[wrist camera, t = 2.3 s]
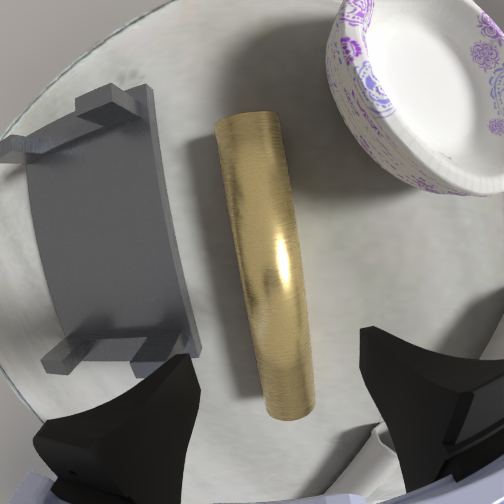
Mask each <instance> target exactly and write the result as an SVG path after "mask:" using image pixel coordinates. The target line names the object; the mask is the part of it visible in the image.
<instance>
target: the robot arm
mask: <svg viewBox="0 0 504 504" xmlns="http://www.w3.org/2000/svg"><path fill="white" fill-rule="evenodd" d="M359 368H360V371H361V374H362V377H363V380H364V382H365V385H366V387H367V389H368V391H369V393H370V395H371V397H372V399H373V400H374V402H375V404H376V406H377V408H378V410H379V412H380V414H381V415H382V417H383V419H384V421H385V423H386V425H387V428H388V430H389V433H390V436H391V438H392V441H393V444H394V447H395V450H396V454H397V457H398V460H399V464H400V467H401V471H402V475H403V479H404V483H405V488H406V493H407V494H404V495H401V496H399V497H396V498H393V499H390V500H387V501H384V502H380V503H377V504H504V359H498V360H476V359H465V358H458V357H452V356H448V355H443V354H440V353H436V352H432V351H429V350H426V349H423V348H421V347H418V346H416V345H413V344H411V343H409V342H406V341H404V340H402V339H400V338H398V337H396V336H394V335H392V334H390V333H388V332H386V331H384V330H381V329H379V328H377V327H375V326H370V327H366V328H361V329H360V362H359ZM200 394H201V389H200V386H199V383H198V379H197V376H196V373H195V370H194V367H193V364H192V360H191V357H190V354H189V353H185V354H175V355H174V356H173V357H171V358H170V359H169V360H167V361H166V362H165V363H164V364H162V365H161V366H160V367H159V368H158V369H156V370H155V371H154V372H153V373H151V374H150V375H149V376H148V377H146V378H145V379H144V380H142V381H141V382H140V383H138V384H137V385H135V386H134V387H133V388H131V389H130V390H128V391H127V392H125V393H123V394H122V395H120V396H118V397H116V398H115V399H113V400H111V401H109V402H106V403H104V404H102V405H100V406H97V407H95V408H93V409H90V410H87V411H84V412H81V413H78V414H75V415H71V416H67V417H62V418H57V419H51V420H47V421H46V422H45V424H44V425H43V426H42V427H41V429H40V430H39V431H38V432H37V434H36V435H35V436H34V438H33V445H34V447H35V449H36V451H37V453H38V454H39V456H40V457H41V458H42V459H43V461H44V462H45V463H46V464H47V465H48V467H49V468H50V469H51V470H52V471H53V477H54V480H55V482H54V481H52V480H51V479H49V478H48V477H45V476H43V475H41V474H39V473H36V472H34V471H32V470H29V471H28V473H27V474H26V476H25V477H24V479H23V480H22V482H21V483H20V484H19V486H18V487H17V489H16V491H15V492H14V494H13V495H12V497H11V498H10V500H9V501H8V503H7V504H181V490H182V480H183V471H184V464H185V457H186V452H187V448H188V444H189V441H190V437H191V434H192V430H193V427H194V424H195V420H196V417H197V413H198V409H199V403H200ZM215 504H367V502H366V500H365V498H364V496H361V495H357V494H351V493H346V492H344V493H335V494H324V495H319V496H313V497H306V498H299V499H291V500H282V501H271V502H256V503H215Z"/></svg>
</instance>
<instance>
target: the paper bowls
mask: <svg viewBox="0 0 504 504" xmlns="http://www.w3.org/2000/svg"><path fill="white" fill-rule="evenodd" d="M325 64H326V73H327V79H328V82H329V86H330V90H331V93H332V94H333V99H334V100H335V102H336V105H337V108H338V110H339V112H340V114H341V116H342V118H343V120H344V122H345V124H346V125H347V127H348V128H349V130H350V131H351V133H352V135H354V137H355V138H356V140H357V142H358V143H359V144H360V145H361V146H362V147H363V149H364V150H365V151H366V152H367V153H368V154H369V155H370V156H371V158H373V159H374V161H375V162H377V164H379V165H380V166H381V167H382V168H383V169H385V170H387V171H388V172H389V173H391V174H392V175H394V176H395V177H397V178H398V179H400V180H401V181H403V182H405V183H407V184H410V185H412V186H413V187H416V188H419V189H421V190H424V191H428V192H432V193H436V194H450V195H459V196H479V197H485V196H492V195H496V194H499V193H502V192H504V34H503V33H502V32H501V30H500V29H499V28H498V26H497V25H496V24H495V23H494V22H493V20H492V19H491V18H490V17H489V16H488V15H487V14H486V13H485V12H484V11H483V10H482V9H481V8H480V7H478V6H477V5H476V4H475V3H474V2H472V1H471V0H343V2H342V4H341V6H340V9H339V12H338V13H337V16H336V18H335V21H334V23H333V26H332V28H331V31H330V34H329V38H328V42H327V45H326V54H325Z"/></svg>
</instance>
